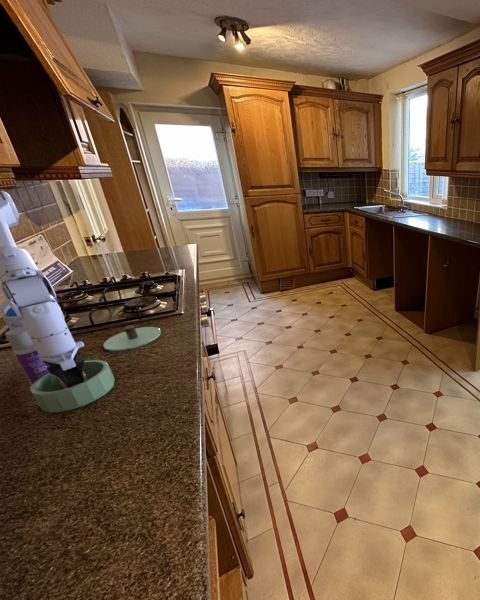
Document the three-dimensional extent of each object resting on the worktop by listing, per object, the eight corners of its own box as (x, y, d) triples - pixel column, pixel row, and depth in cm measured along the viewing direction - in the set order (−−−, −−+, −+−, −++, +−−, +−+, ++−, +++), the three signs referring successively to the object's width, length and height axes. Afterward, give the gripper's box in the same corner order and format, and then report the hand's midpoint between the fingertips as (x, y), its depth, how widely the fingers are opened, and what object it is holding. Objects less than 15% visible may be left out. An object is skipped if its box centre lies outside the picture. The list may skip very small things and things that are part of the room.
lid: (98, 343, 95) (92, 329, 93) (152, 326, 105) (147, 313, 103) (113, 358, 88) (106, 343, 86) (169, 337, 98) (164, 324, 96)
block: (64, 391, 73) (57, 377, 72) (87, 382, 76) (81, 368, 75) (69, 398, 71) (61, 383, 70) (92, 389, 74) (85, 374, 73)
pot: (35, 397, 73) (25, 379, 71) (106, 370, 82) (98, 354, 80) (47, 421, 66) (36, 402, 64) (122, 388, 75) (114, 371, 73)
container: (45, 392, 74) (14, 336, 69) (30, 390, 75) (-3, 334, 69) (68, 380, 79) (40, 326, 73) (53, 378, 80) (24, 324, 74)
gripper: (83, 334, 67) (107, 387, 72) (66, 316, 75) (89, 365, 80) (34, 348, 62) (64, 404, 67) (22, 328, 70) (50, 380, 75)
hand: (75, 384), depth 73 cm, fingers open, 4 cm apart
